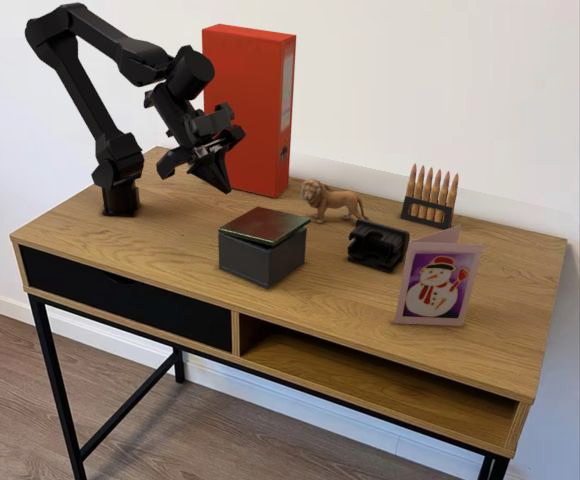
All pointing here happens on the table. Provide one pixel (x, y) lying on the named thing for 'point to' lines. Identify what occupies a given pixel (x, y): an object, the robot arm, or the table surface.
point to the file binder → (254, 101)
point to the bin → (262, 257)
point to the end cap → (377, 245)
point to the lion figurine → (330, 199)
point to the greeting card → (437, 279)
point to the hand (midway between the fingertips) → (229, 192)
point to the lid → (264, 225)
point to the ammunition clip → (430, 199)
